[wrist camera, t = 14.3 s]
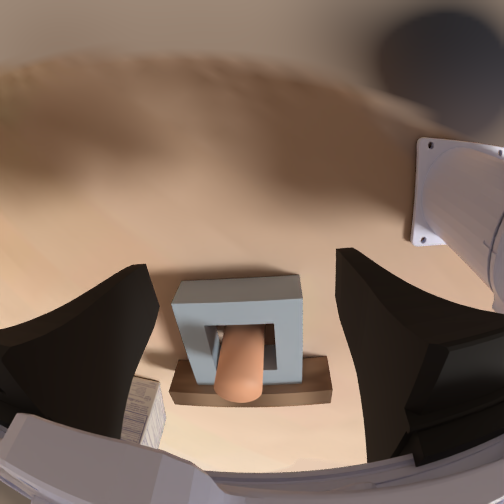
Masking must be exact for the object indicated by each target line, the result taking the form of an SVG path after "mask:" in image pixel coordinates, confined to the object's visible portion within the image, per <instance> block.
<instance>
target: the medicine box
mask: <svg viewBox="0 0 504 504" xmlns="http://www.w3.org/2000/svg"><path fill="white" fill-rule="evenodd" d="M165 421H166V414H165V409H164V404H163V399H162V393H161V388H160V382H156V381H152V380H147V379H143V378H139V377H133V380H132V383H131V387H130V391H129V395H128V399H127V403H126V408H125V413H124V418H123V425H122V432H121V439H120V440H124V441H129V442H134V443H137V444H141V445H144V446H148V447H152V448H156V449H158V447H159V443H160V440H161V436H162V432H163V429H164V425H165Z"/></svg>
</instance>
